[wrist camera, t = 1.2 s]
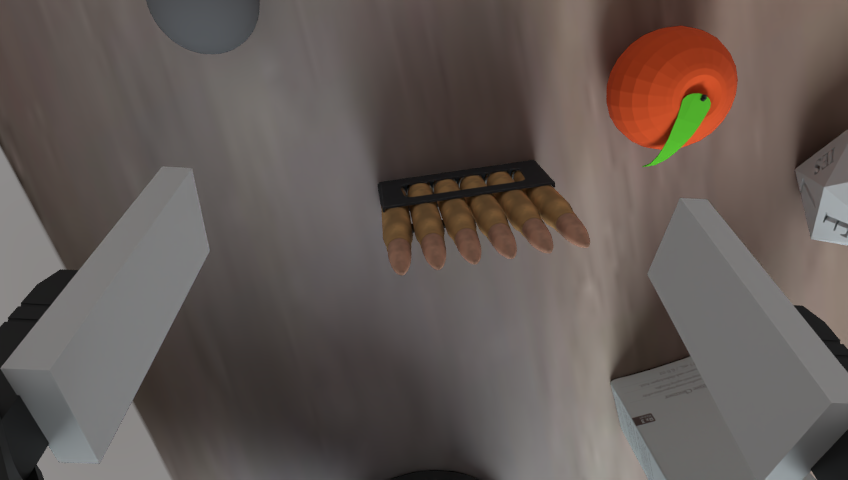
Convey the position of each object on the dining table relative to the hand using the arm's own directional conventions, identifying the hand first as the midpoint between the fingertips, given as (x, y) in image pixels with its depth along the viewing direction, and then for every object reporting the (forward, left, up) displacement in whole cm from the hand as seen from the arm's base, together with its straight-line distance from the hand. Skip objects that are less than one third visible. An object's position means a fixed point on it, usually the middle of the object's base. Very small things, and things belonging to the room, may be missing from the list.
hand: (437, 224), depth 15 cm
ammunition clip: (0, -6, -21) cm, 21 cm away
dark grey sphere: (-6, +11, -18) cm, 21 cm away
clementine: (+13, -7, -21) cm, 26 cm away
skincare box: (+5, -31, -21) cm, 38 cm away
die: (+23, -20, -21) cm, 37 cm away
